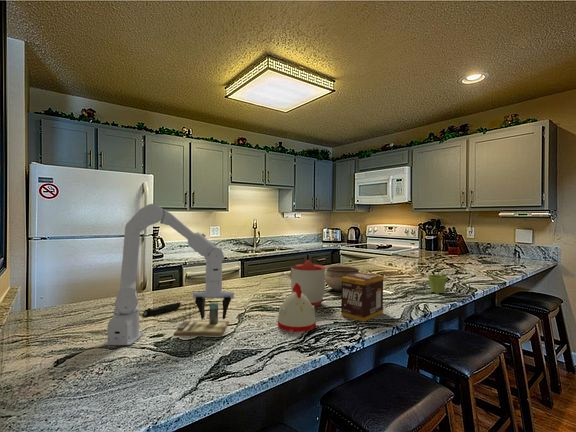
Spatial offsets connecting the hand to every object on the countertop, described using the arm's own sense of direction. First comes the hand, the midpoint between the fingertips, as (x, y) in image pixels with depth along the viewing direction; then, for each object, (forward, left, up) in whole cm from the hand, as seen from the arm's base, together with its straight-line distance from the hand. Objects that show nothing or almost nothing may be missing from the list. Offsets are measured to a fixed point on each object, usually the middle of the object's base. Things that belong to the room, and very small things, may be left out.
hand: (213, 318), depth 111 cm
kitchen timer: (+2, -30, -3) cm, 30 cm away
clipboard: (-3, +3, -3) cm, 5 cm away
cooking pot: (+53, -56, -3) cm, 77 cm away
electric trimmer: (+15, +25, -3) cm, 29 cm away
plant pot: (+50, -105, -3) cm, 116 cm away
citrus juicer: (+28, -35, -3) cm, 45 cm away
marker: (0, 0, -2) cm, 2 cm away
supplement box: (+14, -57, -3) cm, 59 cm away
